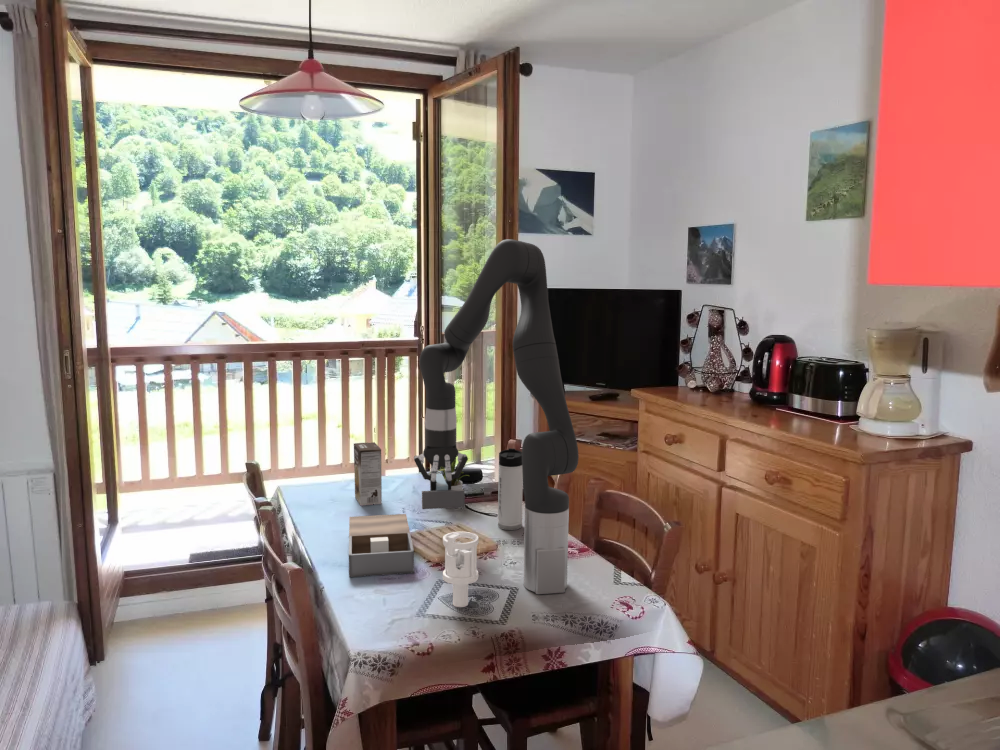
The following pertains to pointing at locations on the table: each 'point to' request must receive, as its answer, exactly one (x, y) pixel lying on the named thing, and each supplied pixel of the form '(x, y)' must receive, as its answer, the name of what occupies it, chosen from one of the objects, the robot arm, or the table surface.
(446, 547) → the white slotted cylindrical fitting
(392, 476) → the table surface
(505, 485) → the travel mug
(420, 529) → the table surface
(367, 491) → the coffee box
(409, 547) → the box
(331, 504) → the table surface
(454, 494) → the scraper
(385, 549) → the tile
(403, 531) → the wooden box lid
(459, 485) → the house plant
